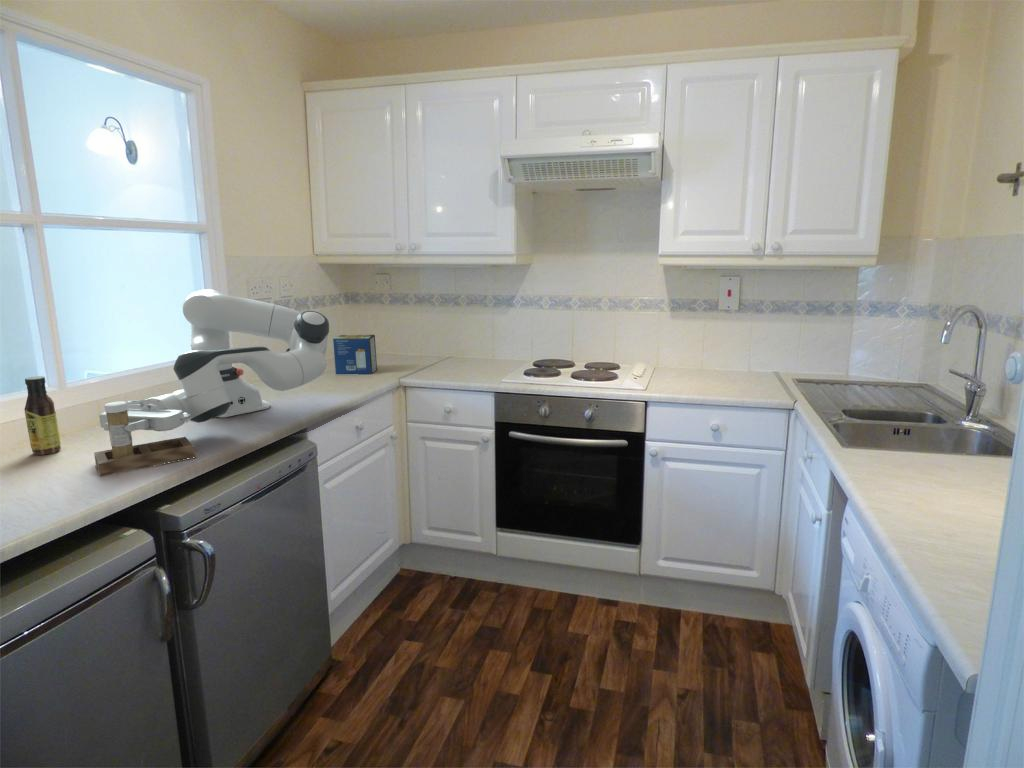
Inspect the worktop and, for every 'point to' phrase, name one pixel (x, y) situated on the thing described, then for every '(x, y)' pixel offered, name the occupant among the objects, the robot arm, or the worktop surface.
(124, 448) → the sprinkles bottle
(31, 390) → the sauce bottle
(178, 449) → the spice caddy
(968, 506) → the worktop surface
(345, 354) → the protein box
